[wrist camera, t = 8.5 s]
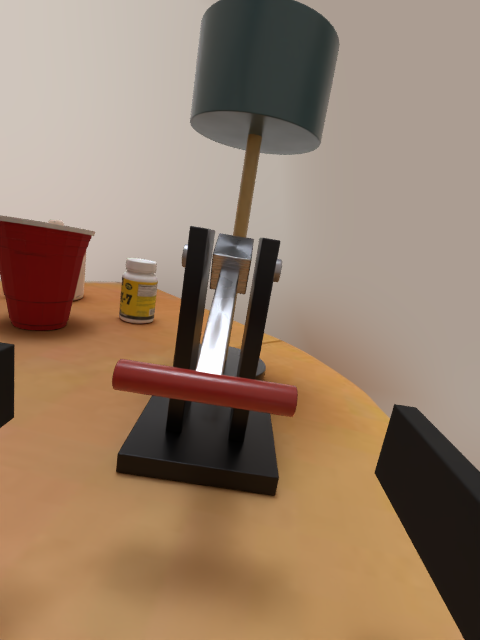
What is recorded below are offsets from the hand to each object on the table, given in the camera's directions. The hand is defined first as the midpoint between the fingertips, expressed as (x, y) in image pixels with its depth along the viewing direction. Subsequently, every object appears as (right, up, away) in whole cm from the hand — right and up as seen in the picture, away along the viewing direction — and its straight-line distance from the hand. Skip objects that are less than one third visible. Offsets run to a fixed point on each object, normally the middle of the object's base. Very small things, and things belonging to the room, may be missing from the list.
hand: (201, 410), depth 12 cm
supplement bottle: (-13, +3, +37) cm, 40 cm away
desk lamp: (-1, -2, +22) cm, 23 cm away
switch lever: (0, +3, +7) cm, 7 cm away
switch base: (-1, -5, +12) cm, 13 cm away
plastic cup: (-22, +3, +29) cm, 37 cm away
